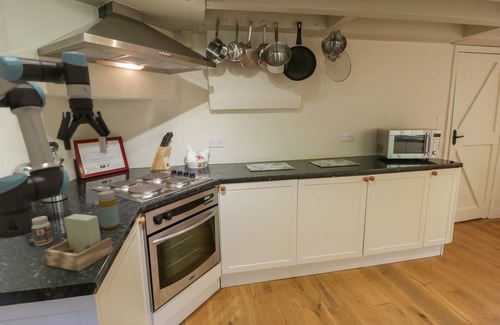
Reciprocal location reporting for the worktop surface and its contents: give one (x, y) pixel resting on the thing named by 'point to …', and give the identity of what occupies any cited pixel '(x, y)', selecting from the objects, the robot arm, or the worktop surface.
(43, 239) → the pill bottle
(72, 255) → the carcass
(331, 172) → the worktop surface
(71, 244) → the door
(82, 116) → the robot arm
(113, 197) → the bottle
